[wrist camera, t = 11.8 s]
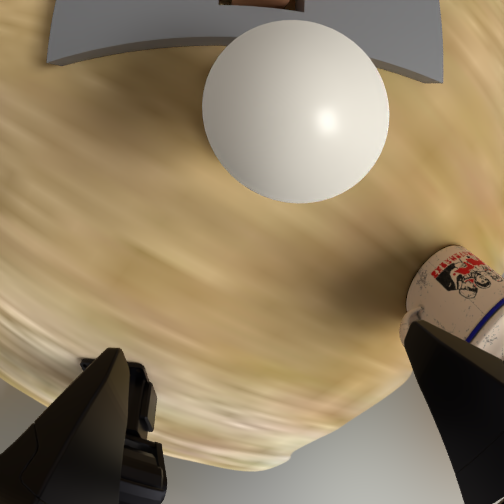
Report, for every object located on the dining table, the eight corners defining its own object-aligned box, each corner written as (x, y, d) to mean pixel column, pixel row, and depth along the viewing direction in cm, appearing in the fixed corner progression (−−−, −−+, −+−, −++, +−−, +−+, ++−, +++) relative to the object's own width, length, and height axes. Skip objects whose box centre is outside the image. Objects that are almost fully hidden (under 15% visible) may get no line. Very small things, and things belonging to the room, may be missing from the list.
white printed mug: (478, 235, 21) (562, 300, 11) (458, 310, 25) (517, 380, 15) (381, 254, 21) (476, 360, 10) (368, 339, 25) (423, 439, 14)
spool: (207, 168, 16) (201, 202, 10) (210, 53, 13) (207, 13, 7) (322, 171, 17) (377, 206, 11) (329, 63, 14) (392, 43, 8)
